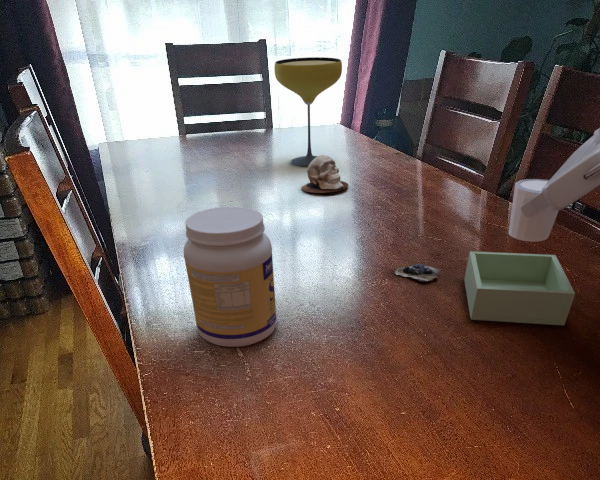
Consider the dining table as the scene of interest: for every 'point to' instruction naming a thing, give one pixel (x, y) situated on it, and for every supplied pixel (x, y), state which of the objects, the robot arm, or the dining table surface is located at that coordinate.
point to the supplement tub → (230, 275)
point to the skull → (323, 176)
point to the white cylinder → (536, 224)
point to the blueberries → (418, 272)
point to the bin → (517, 288)
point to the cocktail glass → (308, 85)
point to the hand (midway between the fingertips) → (531, 203)
